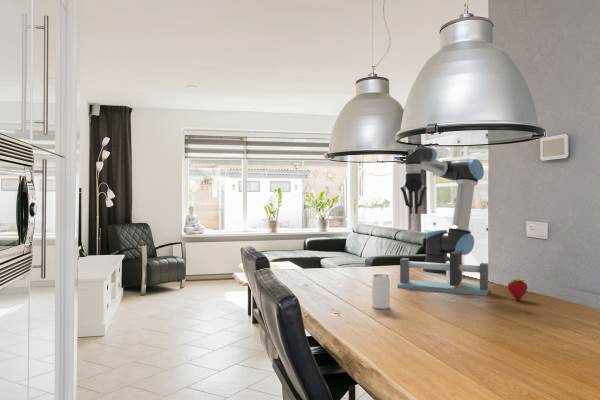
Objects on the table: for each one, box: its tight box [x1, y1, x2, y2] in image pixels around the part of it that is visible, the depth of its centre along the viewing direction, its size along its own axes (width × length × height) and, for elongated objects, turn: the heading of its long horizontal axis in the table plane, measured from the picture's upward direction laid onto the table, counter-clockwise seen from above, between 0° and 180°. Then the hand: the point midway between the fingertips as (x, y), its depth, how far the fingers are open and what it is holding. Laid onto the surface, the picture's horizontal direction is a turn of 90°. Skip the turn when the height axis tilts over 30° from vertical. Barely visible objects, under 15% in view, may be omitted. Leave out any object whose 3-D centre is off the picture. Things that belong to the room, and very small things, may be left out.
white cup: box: [445, 260, 464, 284], centre depth 222 cm, size 8×8×10 cm
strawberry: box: [507, 274, 528, 301], centre depth 182 cm, size 6×8×10 cm
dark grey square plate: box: [449, 250, 463, 286], centre depth 203 cm, size 3×14×14 cm, turn 152°
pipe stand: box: [397, 257, 490, 296], centre depth 206 cm, size 38×14×12 cm, turn 62°
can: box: [371, 273, 391, 310], centre depth 170 cm, size 6×6×12 cm
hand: (414, 220), depth 225 cm, fingers closed
